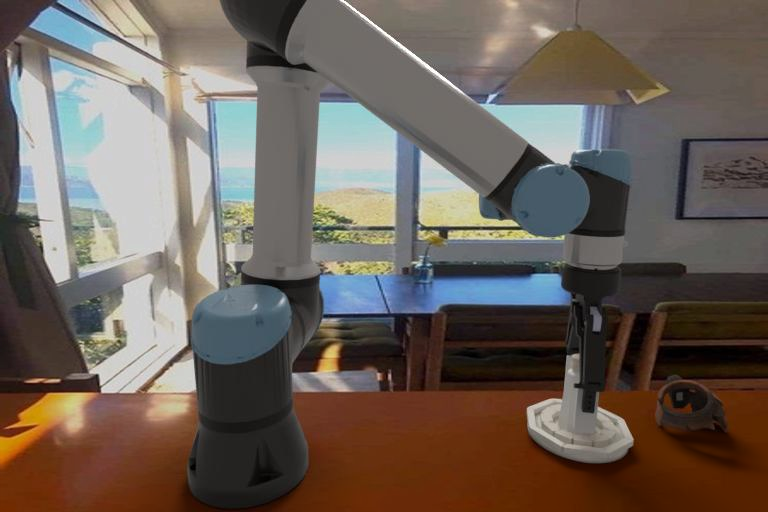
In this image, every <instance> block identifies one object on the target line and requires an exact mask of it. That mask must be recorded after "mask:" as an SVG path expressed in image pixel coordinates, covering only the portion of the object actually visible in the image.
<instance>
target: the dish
mask: <svg viewBox="0 0 768 512" xmlns="http://www.w3.org/2000/svg"><path fill="white" fill-rule="evenodd" d="M561 404H562V398H549V399H546V400H543V401H540V402H537V403H535V404H533V405H530V406H527V408H526V420H527V423H526V424H527V426H526V427H527V432H528V435H529V436H530V438H532V439H533V440H534V442H535V443H537V444H538V445H539V446H541V448H543V449H545V450H547V451H548V452H550V453H552V454H554V455H557V456H559V457H561V458H565V459H568V460H571V461H574V462H575V461H576V462H579V463H580V462H581V463H587V464H605V463H612V462H615V461H618V460H620V459H621V460H622V458H623V457H624V458H625V456H626V455H627V453H628V452H629V448H632V447H633V446H634V442H635V441H634V440H635V439H634V437H633V436H632V433H631V432H630V429H629V427H628V425H627V423H626V421H625V419H623V417H620V416H618V415H617V414H615V413H613V412H610V411H609V410H606V409H603V408H602V407H600V406H598V410H597V420H596V430H595V433H594V434H593V435H580V434H574V433H571V432H568V431H566V430H563V429H562V428H561V427H559V426H558V420H559V415H560V409H561Z"/></svg>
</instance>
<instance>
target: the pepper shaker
mask: <svg viewBox="0 0 768 512" xmlns="http://www.w3.org/2000/svg"><path fill="white" fill-rule="evenodd" d="M571 358H572V363H571V365H572V367H571V369H569V371H568V373H567V377H566V382H565V381H564V383H565V388H564V387H563V393H562V398H561V399H562V404H561V409H560V415H559V420H558V426H559V427H561V428H562V429H563V430H566V431H568V432H571V433H574V434H580V435H593V434H594V433H589V432H581V431H574V429H573V425H574V414H575V403H576V392H577V388H574V383H578V384H579V382H580V370H579V354H573V355H572V356H571Z"/></svg>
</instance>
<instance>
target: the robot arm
mask: <svg viewBox="0 0 768 512" xmlns="http://www.w3.org/2000/svg"><path fill="white" fill-rule="evenodd" d="M219 3H220V7H221V10H222V12H223V14H224V16H225V18H226V20H227V21H228V22H229V24H230V26H232V28H233V29H234V30H235V31H236V32H237V33H238V34H239V35H240V36H241V37H242V38H243V39H245V40H246V58H245V60H246V64H245V65H246V66H245V67H246V68H245V70H246V73H247V75H248V76H249V77H250V79H252V81H253V82H254V83H255V85H256V87H257V88H256V89H257V91H256V93H257V95H256V121H255V122H256V123H255V124H256V126H255V155H254V156H255V159H254V160H255V161H254V162H255V163H254V185H253V186H254V191H253V192H254V194H253V195H254V196H253V223H252V224H253V229H252V255H251V257H250V258H249V259H247V261H245V262H244V263H243V264H242V265H241V268H240V269H241V270H240V271H241V272H240V285H236V286H235V285H234V286H231V287H228V288H227V289H225V290H224V289H221V290H217V291H214V292H212V293H210V294H209V295H207V296H206V297H204V298H203V299H202V300H201V301H199V302H198V303H197V304H196V306H195V307H194V309H193V311H192V315H191V331H190V344H191V345H190V346H191V347H192V348H191V349H192V358H193V370H194V379H195V381H194V382H195V393H196V403H197V417H198V423H197V428H196V431H195V435H194V439H193V443H192V445H191V446H192V447H191V449H190V452H189V453H190V454H189V457H188V461H187V465H186V466H187V471H186V472H187V482H188V483H187V484H188V489H189V490H190V493H191V494H192V495H193V497H194V498H195V499H197V500H198V501H200V502H201V503H204V504H206V505H208V506H211V507H215V508H217V509H218V508H220V509H229V510H230V509H232V510H233V509H236V510H237V509H247V508H253V507H257V506H260V505H264V504H267V503H269V502H272V501H275V500H276V499H279V498H281V497H283V496H284V495H286V494H288V493H289V492H291V490H293V489H294V488H295V487H296V486H297V485H299V483H300V482H301V481H302V480H303V479H304V477H305V475H306V473H307V471H308V468H309V445H308V441H307V439H306V437H305V435H304V431H303V429H302V427H301V425H300V421H299V420H298V416H297V414H296V411H295V409H294V396H293V395H294V394H293V393H294V392H293V391H294V390H293V363H294V362H295V361H296V359H297V358H298V357H299V355H300V353H301V352H302V350H303V349H304V348H305V346H306V345H307V343H309V341H310V340H311V339H312V338H313V337H314V336H315V335H316V333H317V332H318V331H319V328H320V327H321V324H322V321H323V318H324V313H325V298H324V294H323V291H322V289H321V287H320V284H321V283H320V280H321V268H320V267H319V266H318V264H317V263H316V262H315V261H314V260H313V259H312V247H313V246H312V245H313V229H314V228H313V227H314V207H315V191H316V190H315V189H316V173H317V170H316V169H317V155H318V138H319V137H318V135H319V118H320V98H321V93H322V92H323V91H324V89H326V88H327V87H328V86H329V85H330V84H333V85H334V86H335V87H337V89H339V90H341V91H342V92H343V93H344V94H346V95H347V96H349V97H350V98H351V99H352V100H354V101H355V102H356V103H358V104H360V105H361V106H362V107H363V108H364V109H366V110H367V111H369V112H370V113H371V114H373V115H374V116H375V117H376V118H378V119H379V120H380V121H382V122H383V123H385V124H386V125H387V126H389V127H390V128H391V129H392V130H394V131H395V132H396V133H398V134H399V135H400V136H402V137H403V138H404V139H405V140H407V141H408V142H410V144H412V145H414V146H415V147H416V148H418V149H419V150H420V151H422V152H423V153H424V154H426V155H427V156H428V157H429V158H431V159H432V160H433V161H435V162H436V163H437V164H439V165H440V166H441V167H443V168H444V169H445V170H447V171H448V172H449V173H451V174H452V175H453V176H454V177H456V178H457V179H459V180H460V181H461V182H462V183H463V184H465V185H467V186H468V187H469V188H471V189H472V190H473V191H474V192H476V193H477V194H478V210H479V214H480V216H481V217H482V218H484V219H486V220H498V221H509V220H510V221H513V222H514V223H516V224H517V226H519V227H520V228H521V229H522V230H524V231H525V232H527V233H528V234H529V235H532V236H536V237H541V238H549V239H550V238H558V237H562V236H564V237H563V249H562V251H563V252H562V258H563V259H564V260H565V262H563V264H562V268H561V278H560V279H561V281H560V286H561V288H562V289H563V290H564V291H566V292H568V293H570V306H569V314H568V319H567V320H568V322H567V329H566V336H565V340H564V344H565V346H566V349H565V350H566V351H565V352H566V353H567V355H566V358H565V359H566V361H565V371H564V372H565V374H564V384H563V385H564V386H563V389H564V388H565V382H566V377H567V373H568V371H569V369H571V367H572V365H571V363H572V358H571V356H572V355H573V354H579V370H580V382H579V384H578V383H574V388H577V392H576V403H575V414H574V425H573V429H574V431H581V432H589V433H595V430H596V420H597V410H598V407H599V401H600V400H599V399H600V393H604V392H605V390H606V386H605V383H606V381H605V380H606V378H605V377H606V358H607V357H606V354H607V351H606V350H607V331H608V325H609V324H608V323H609V322H610V320H609V316H608V315H607V312H606V307H604V306H603V302H602V301H603V299H604V298H607V297H614V296H616V295H618V294H619V293H620V288H621V278H622V269H621V267H620V266H619V265H620V264H623V263H622V262H623V255H624V251H623V250H624V249H626V248H628V247H629V242H628V241H627V240H625V235H626V227H627V226H626V225H627V217H628V210H629V209H628V208H629V202H630V193H631V188H632V175H633V174H632V173H633V171H632V169H633V166H632V161H633V160H632V156H631V154H630V152H628V151H627V150H623V149H576V150H574V151H573V152H572V153H571V156H570V160H569V161H568V164H567V163H565V164H562V163H558V162H555V161H554V160H552V159H551V158H549V157H548V156H547V155H546V154H544V153H542V151H540V150H539V149H538V148H537V147H534V145H532V144H530V143H529V142H528V141H527V140H526V139H525V138H524V137H522V136H520V134H518V133H517V132H515V131H514V130H513V129H512V128H511V127H509V126H508V125H506V124H505V123H504V122H502V121H501V120H500V119H499V118H497V117H496V116H495V115H494V114H492V113H491V112H489V110H487V109H485V108H484V107H483V106H482V105H481V104H480V103H478V102H477V101H476V100H474V99H472V98H471V97H470V96H469V95H467V94H466V93H465V92H463V90H461V89H459V88H458V87H457V86H456V85H454V84H453V83H452V82H450V81H449V80H448V79H446V78H445V77H444V76H442V75H441V74H440V73H439V72H437V71H436V70H435V69H434V68H433V67H431V66H429V65H428V64H427V63H426V62H424V61H423V60H422V59H420V58H419V57H418V56H417V55H415V54H414V53H412V52H411V51H410V50H409V49H407V48H406V47H405V46H403V45H402V44H401V43H400V42H398V41H397V40H396V39H394V37H392V36H391V35H389V34H387V32H386V31H384V30H383V29H381V28H380V27H379V26H377V25H376V24H374V23H373V22H372V21H371V20H370V19H369V18H367V17H366V16H365V15H363V14H362V13H360V12H359V11H357V10H356V8H354V7H352V5H350V4H349V3H348V2H346V1H345V0H219Z"/></svg>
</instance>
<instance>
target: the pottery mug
mask: <svg viewBox="0 0 768 512" xmlns="http://www.w3.org/2000/svg"><path fill="white" fill-rule="evenodd" d="M691 390H693V391H691ZM666 395H668V397H669V398H670V403H671V408H672V409H671V408H670V407H668V406H667V404H665V403H664V402H665V397H666ZM656 398H657V402H656V409H655V412H654V416H655V421H656V423H657V425H658V426H659V427H663V426H665V427H670V428H671V429H672V428H673V429H677V430H681V431H685V432H687V431H688V430H689V429H690V430H692V431H696V430H700V429H711V430H712V431H713V430H714V431H716V428H715V423H714V421H715V422H716V423H717V424H718V425H719V426H720V427H721V429H722V431H723V432H724V433H727V432H728V428H729V427H728V426H729V422H728V421H727V419H726V414H727V413H726V411H725V409H724V408H723V406H724V403H723V401H722V400H721V399H720V398H719V397H718V395H716V394H715V393H714V392H712V391H711V390H710V389H709V388H708V387H707V386H706V385H704V384H702V383H699V381H694V380H690V379H684V378H682V377H681V376H680V375H677V374H672V375H670V376H669V375H668V377H667V378H666V384H664V385H663V386H662V387H661V388H660V389H659V391H658V393H657V397H656ZM689 404H690V409H691V412H687V413H686V412H685V413H684V412H680V411H679V412H678V411H676V410H673V409H677V410H678V409H680V410H683V409H684V408H686V407H687V406H688V405H689Z"/></svg>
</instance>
